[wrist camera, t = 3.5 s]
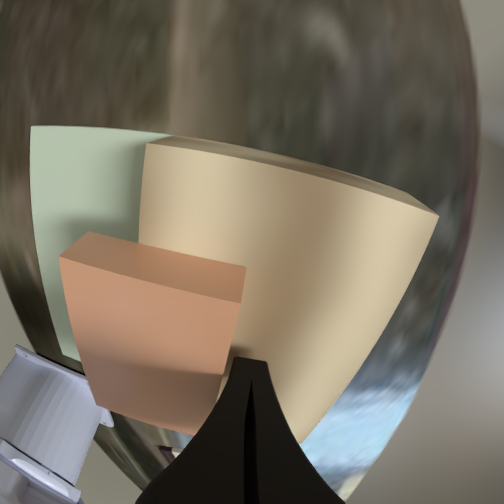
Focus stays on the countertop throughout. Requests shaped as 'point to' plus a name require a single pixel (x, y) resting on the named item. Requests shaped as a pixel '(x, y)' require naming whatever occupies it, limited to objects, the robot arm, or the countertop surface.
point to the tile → (151, 327)
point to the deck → (289, 257)
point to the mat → (82, 199)
